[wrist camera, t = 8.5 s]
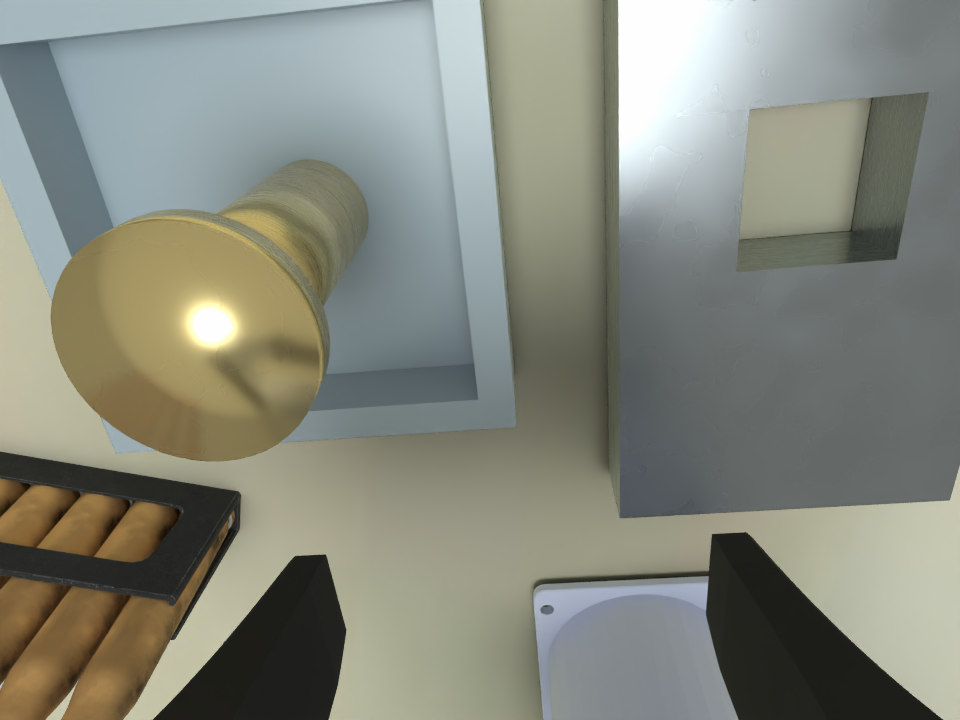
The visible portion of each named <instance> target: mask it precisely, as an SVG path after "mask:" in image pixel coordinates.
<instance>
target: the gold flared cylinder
mask: <svg viewBox="0 0 960 720" xmlns="http://www.w3.org/2000/svg"><path fill="white" fill-rule="evenodd" d="M368 224H369V213H368V207H367V203H366V200H365V198H364V195H363V193H362V191H361V190H360V188H359V187H358V185H357V184H356V182H355V181H354V180H353V179H352V178H351V177H350V176H349V175H348V174H347V173H346V172H344V171H343V170H341V169H340V168H338V167H336V166H334V165H332V164H330V163H327V162H324V161H320V160H313V159H304V160H298V161H294V162H291V163H289V164H287V165H284V166H283V167H281V168H280V169H279V170H277V171H276V172H274V173H273V174H271V175H270V176H269V177H267V178H266V179H264V180H263V181H261V182H260V183H259V184H257V185H256V186H254V187H253V188H251V189H250V190H249V191H247V192H246V193H244V194H243V195H241V196H240V197H239V198H237V199H236V200H234V201H233V202H232V203H230V204H229V205H227V206H226V207H224V208H223V209H222V210H220V211H219V212H217V213H216V214H214V213H210V212H206V211H200V210H190V209H166V210H160V211H154V212H149V213H146V214H143V215H140V216H137V217H134V218H132V219H130V220H128V221H126V222H124V223H122V224H120V225H118V226H116V227H115V228H113V229H111V230H109V231H107V232H106V233H104V234H102V235H100V236H98V237H97V238H95V239H93V240H92V241H91V242H89V243H88V244H86V245H85V246H84V247H82V248H81V249H80V250H79V251H78V252H77V253H76V254H75V255H74V256H73V257H72V258H71V259H70V261H69V262H68V264H67V265H66V267H65V268H64V270H63V271H62V273H61V275H60V278H59V280H58V282H57V284H56V287H55V291H54V295H53V299H52V308H51V325H52V334H53V339H54V343H55V348H56V350H57V353H58V356H59V359H60V361H61V364H62V366H63V368H64V370H65V372H66V374H67V376H68V378H69V379H70V381H71V382H72V384H73V385H74V387H75V388H76V390H77V391H78V392H79V394H80V395H81V396H82V397H83V399H84V400H85V401H86V402H87V403H88V405H89V406H90V407H91V408H92V409H94V410H95V411H96V412H97V413H98V414H99V415H100V416H101V417H102V418H103V419H104V420H106V421H107V422H108V423H109V424H110V425H112V426H113V427H114V428H116V429H117V430H119V431H120V432H122V433H123V434H125V435H126V436H128V437H130V438H131V439H133V440H135V441H137V442H139V443H141V444H143V445H145V446H147V447H150V448H152V449H154V450H157V451H159V452H162V453H166V454H169V455H172V456H176V457H181V458H186V459H191V460H200V461H228V460H236V459H241V458H245V457H249V456H253V455H256V454H258V453H261V452H263V451H266V450H268V449H270V448H271V447H273V446H275V445H277V444H279V443H280V442H281V441H283V440H284V439H285V438H287V437H288V436H289V435H290V434H291V433H292V432H293V431H294V430H295V429H296V428H297V427H298V426H299V425H300V423H301V422H302V421H303V419H304V418H305V416H306V415H307V413H308V411H309V409H310V407H311V405H312V403H313V401H314V399H315V397H316V395H317V393H318V391H319V389H320V387H321V384H322V382H323V380H324V378H325V375H326V371H327V368H328V363H329V357H330V334H329V327H328V322H327V318H326V315H325V312H324V308H323V307H324V305H325V304H326V302H327V300H328V299H329V297H330V295H331V294H332V292H333V291H334V289H335V287H336V286H337V284H338V282H339V281H340V279H341V277H342V276H343V274H344V272H345V271H346V269H347V268H348V266H349V264H350V263H351V261H352V259H353V258H354V256H355V254H356V253H357V251H358V249H359V248H360V246H361V244H362V243H363V241H364V239H365V237H366V234H367V230H368Z"/></svg>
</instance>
